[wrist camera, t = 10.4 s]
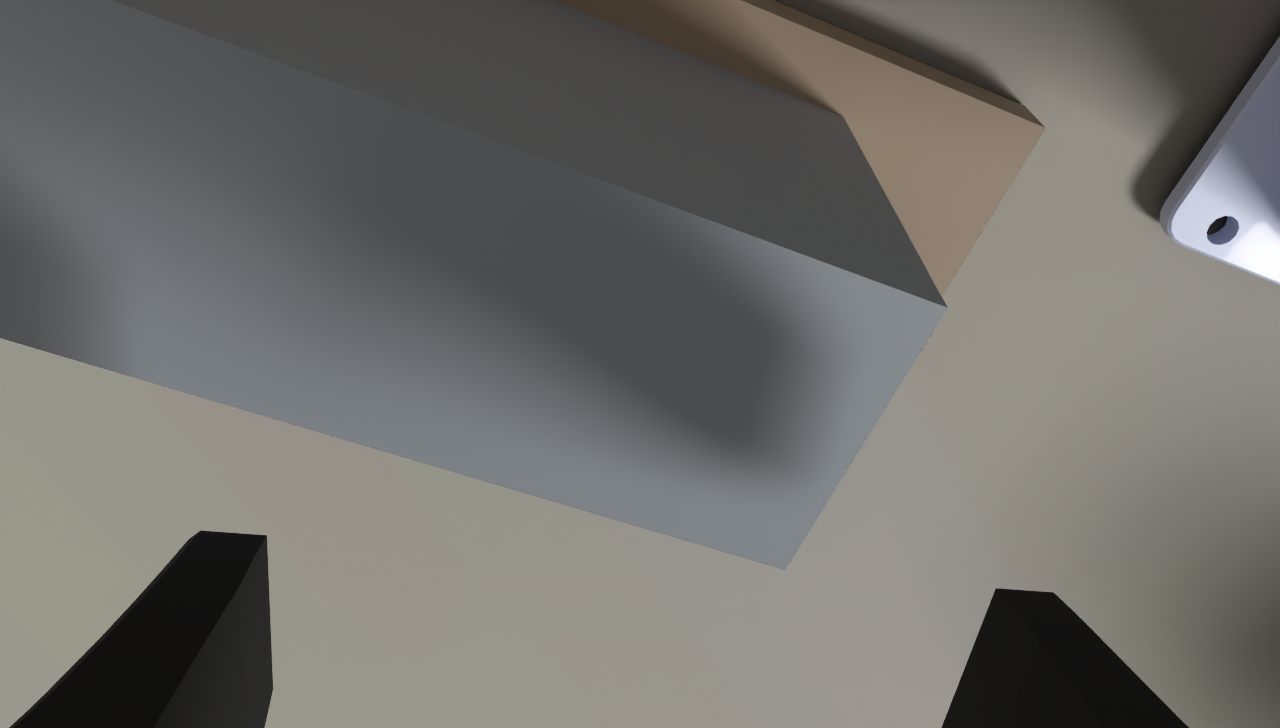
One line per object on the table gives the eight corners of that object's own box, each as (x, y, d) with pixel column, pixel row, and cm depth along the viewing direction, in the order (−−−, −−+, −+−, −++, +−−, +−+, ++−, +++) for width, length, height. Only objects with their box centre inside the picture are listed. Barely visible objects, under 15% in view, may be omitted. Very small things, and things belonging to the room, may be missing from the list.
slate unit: (1024, 106, 19) (1227, 320, 13) (850, 396, 22) (952, 681, 16) (-191, -407, 15) (-724, -442, 9) (-208, 37, 17) (-619, 240, 12)
